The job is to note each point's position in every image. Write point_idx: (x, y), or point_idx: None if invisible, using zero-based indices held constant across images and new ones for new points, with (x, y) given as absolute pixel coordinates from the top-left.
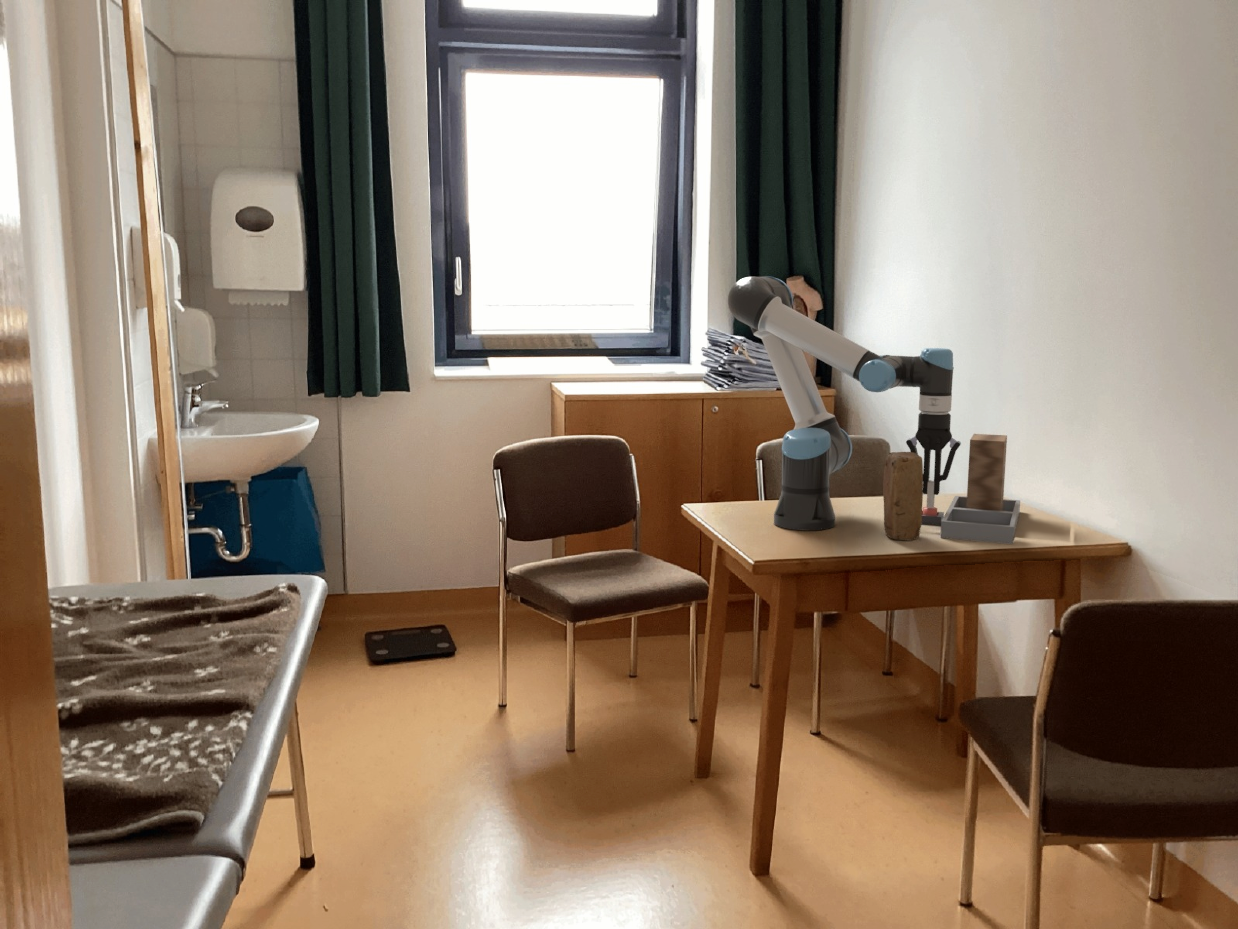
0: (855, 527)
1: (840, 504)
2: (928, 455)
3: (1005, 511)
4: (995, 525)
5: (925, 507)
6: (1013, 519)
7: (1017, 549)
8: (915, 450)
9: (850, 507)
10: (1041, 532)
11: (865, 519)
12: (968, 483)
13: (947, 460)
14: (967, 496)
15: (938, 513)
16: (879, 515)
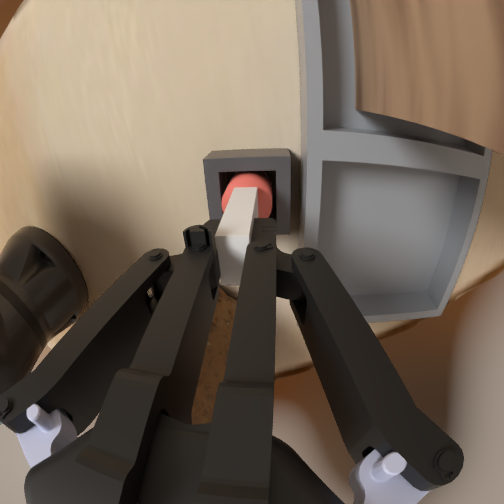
0: (110, 268)
1: (16, 74)
2: (186, 406)
3: (470, 155)
4: (411, 318)
5: (228, 200)
6: (465, 250)
7: (422, 318)
8: (96, 412)
9: (33, 85)
10: (496, 176)
11: (90, 187)
12: (414, 121)
13: (326, 387)
14: (386, 114)
15: (273, 169)
16: (98, 123)
